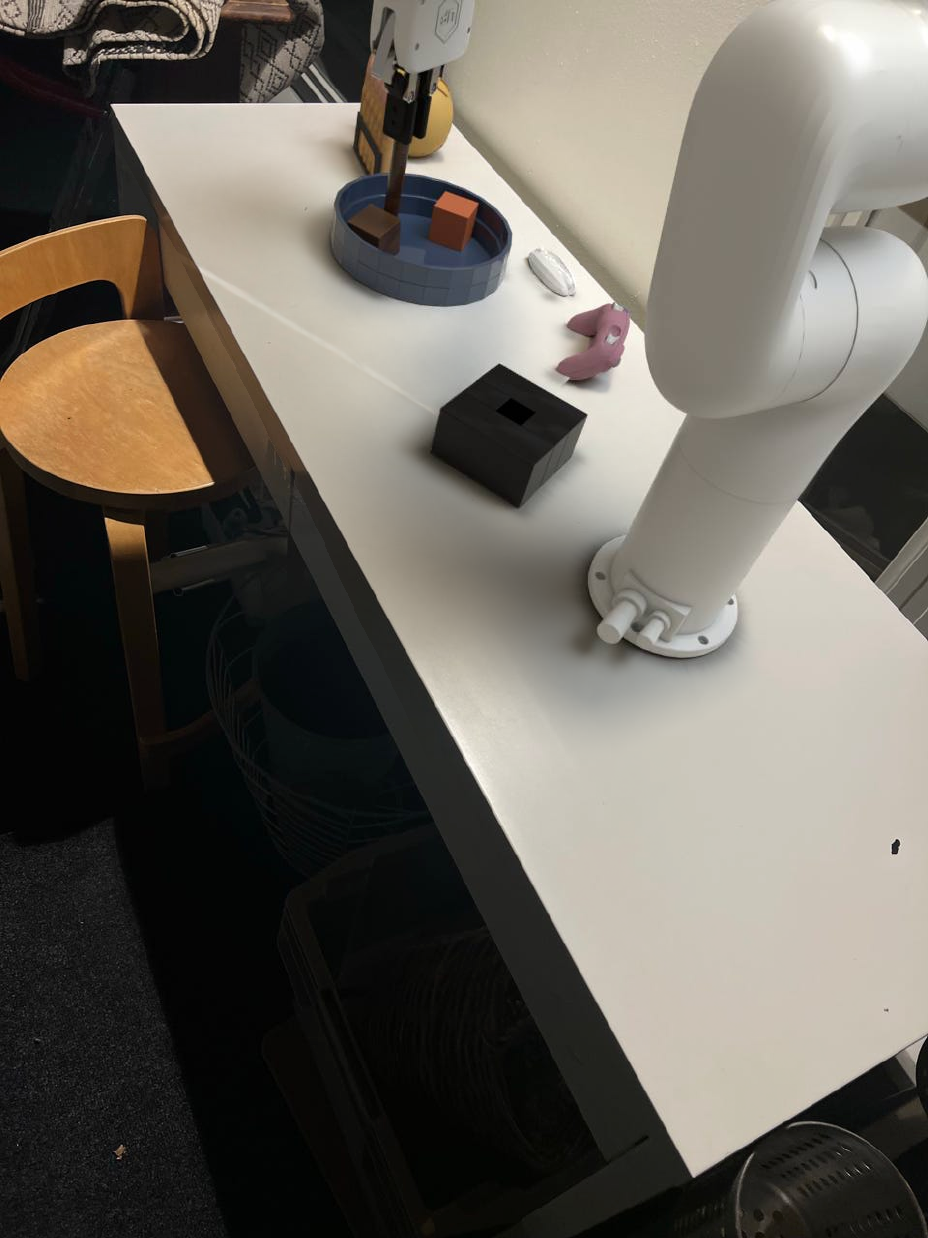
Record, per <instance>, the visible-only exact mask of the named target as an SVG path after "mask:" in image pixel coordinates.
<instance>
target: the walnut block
mask: <svg viewBox="0 0 928 1238" xmlns="http://www.w3.org/2000/svg"><path fill="white" fill-rule="evenodd" d="M347 225H348V227H349V228H350V229H351V230H352V231H353V232H354V233H356V234H357V235H358V236H359V237H360V238H361V239H363V240H364V241H365V242H367V243H369V244H371V245H373V246H374V247H376V248H378V249H380V250H381V251H383V252H386V253H388V254H391V255H394V256H396V255H397V254H398V253H399V251H400V234H401V219H399V218H397V217H396V216H394V215H392V214H390V213H388V212H386V211H384V210H382V209H380V208H378V207H376V206H375V205H373V204H371V203H370V204H369V205H367V206H366V207H365V208H364V209H362V210H361V211H360V212H359V213H357V214H356V215H355V216H354V217H352V218H351V219H350V220H349V221H348V222H347Z"/></svg>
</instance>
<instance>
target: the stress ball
mask: <svg viewBox="0 0 928 1238" xmlns="http://www.w3.org/2000/svg"><path fill="white" fill-rule="evenodd" d="M398 72H400V73H402V74H403V76H404V73H405V72H404V71H402V70H400V69H398ZM429 95H430V96H432V100H431V107H430V113H429V119H428V125H427V131H426V136H425V138H423V139H418V138H416V137H414V136H412V142H411V144H410V146H409V152H408V157H410V158H420V157H421V158H422V157H425V156H428V155H430V154H432V153H434V152H436V151H439V150H440V149H441V148H442V147H443V146H444V144H445V143H446V142H447V140H448V136H449V134H450V132H451V129H452V126H453V122H454V105H453V100H452V97H451V90H450V86H449V85H448V84H447V82H445V80H443V78H442V77H439V79H438V84H437V89H436V91H435V93H434V94H433V95H431V94H429Z"/></svg>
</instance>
